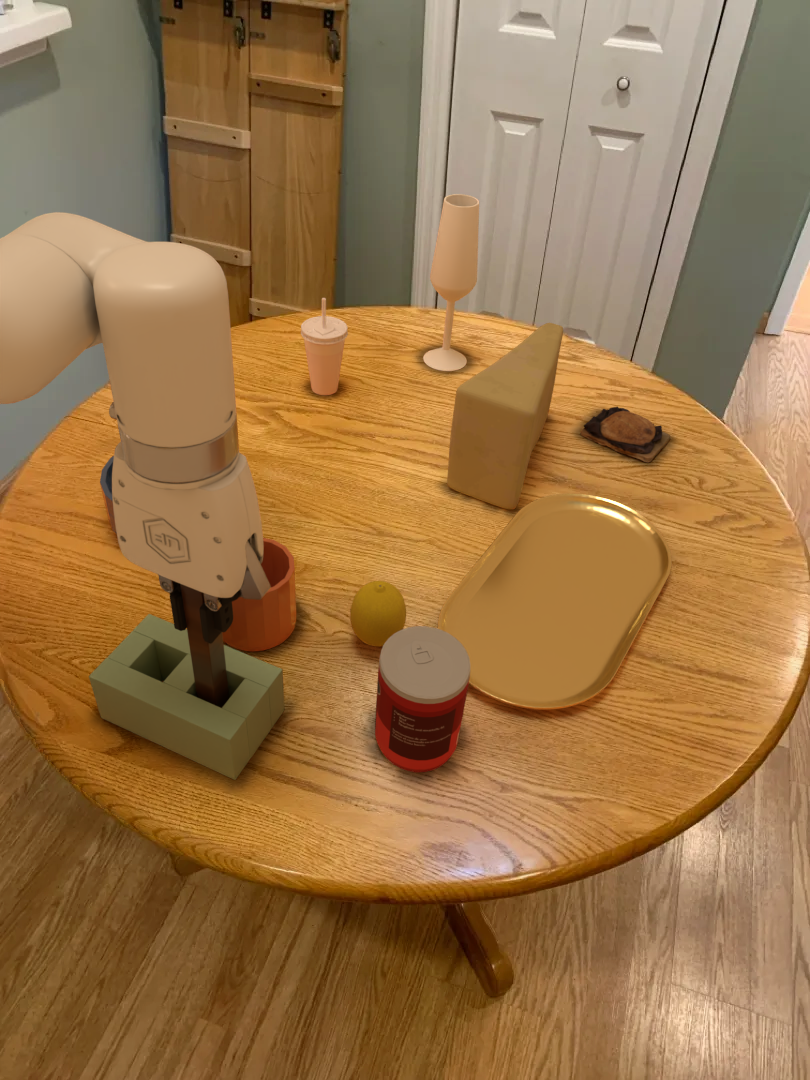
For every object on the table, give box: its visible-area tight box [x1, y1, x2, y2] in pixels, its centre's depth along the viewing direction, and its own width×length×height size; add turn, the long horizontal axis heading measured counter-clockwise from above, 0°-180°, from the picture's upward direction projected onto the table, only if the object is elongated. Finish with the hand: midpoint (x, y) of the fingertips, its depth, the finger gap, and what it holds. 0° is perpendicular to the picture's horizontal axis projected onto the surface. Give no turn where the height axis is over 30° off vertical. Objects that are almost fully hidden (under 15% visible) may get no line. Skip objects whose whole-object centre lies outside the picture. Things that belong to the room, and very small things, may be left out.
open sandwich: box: [579, 406, 671, 464], centre depth 115 cm, size 11×8×4 cm
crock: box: [222, 537, 297, 652], centre depth 84 cm, size 8×8×8 cm
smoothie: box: [300, 297, 349, 396], centre depth 116 cm, size 6×6×14 cm
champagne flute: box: [422, 193, 480, 372], centre depth 121 cm, size 7×7×24 cm
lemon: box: [349, 580, 407, 647], centre depth 83 cm, size 6×6×8 cm
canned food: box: [374, 625, 470, 773], centre depth 74 cm, size 8×8×11 cm
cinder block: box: [88, 613, 286, 781], centre depth 76 cm, size 8×14×6 cm, turn 65°
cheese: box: [446, 322, 564, 510], centre depth 106 cm, size 22×10×15 cm, turn 152°
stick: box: [180, 584, 229, 708], centre depth 70 cm, size 2×2×16 cm
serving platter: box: [437, 493, 673, 711], centre depth 92 cm, size 19×35×2 cm, turn 149°
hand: (203, 623), depth 68 cm, fingers closed on stick, 2 cm apart
